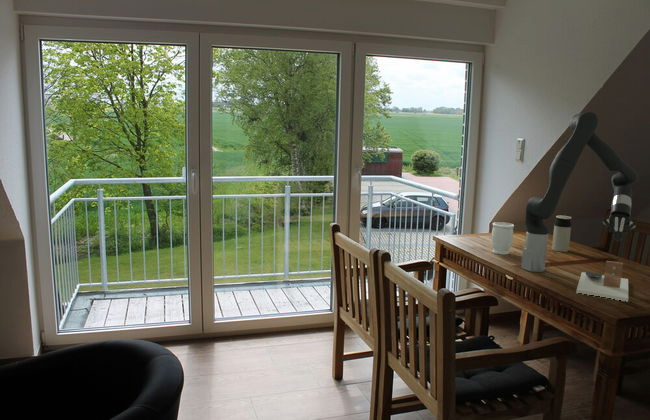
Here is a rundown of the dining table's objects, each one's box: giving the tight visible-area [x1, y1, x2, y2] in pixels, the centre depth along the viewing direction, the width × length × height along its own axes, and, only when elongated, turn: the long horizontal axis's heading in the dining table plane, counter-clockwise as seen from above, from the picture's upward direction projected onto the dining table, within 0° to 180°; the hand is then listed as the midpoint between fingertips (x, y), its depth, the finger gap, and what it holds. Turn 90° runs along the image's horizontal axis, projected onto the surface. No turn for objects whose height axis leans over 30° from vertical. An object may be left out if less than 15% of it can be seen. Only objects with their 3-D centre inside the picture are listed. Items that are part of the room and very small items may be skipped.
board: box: [575, 271, 629, 303], centre depth 222 cm, size 29×18×2 cm, turn 151°
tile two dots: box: [603, 260, 624, 288], centre depth 218 cm, size 2×6×10 cm, turn 61°
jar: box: [491, 221, 515, 256], centre depth 273 cm, size 11×10×15 cm
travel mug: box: [551, 215, 572, 253], centre depth 282 cm, size 8×8×18 cm
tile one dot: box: [585, 271, 603, 277], centre depth 228 cm, size 2×6×10 cm
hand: (617, 240), depth 225 cm, fingers closed
